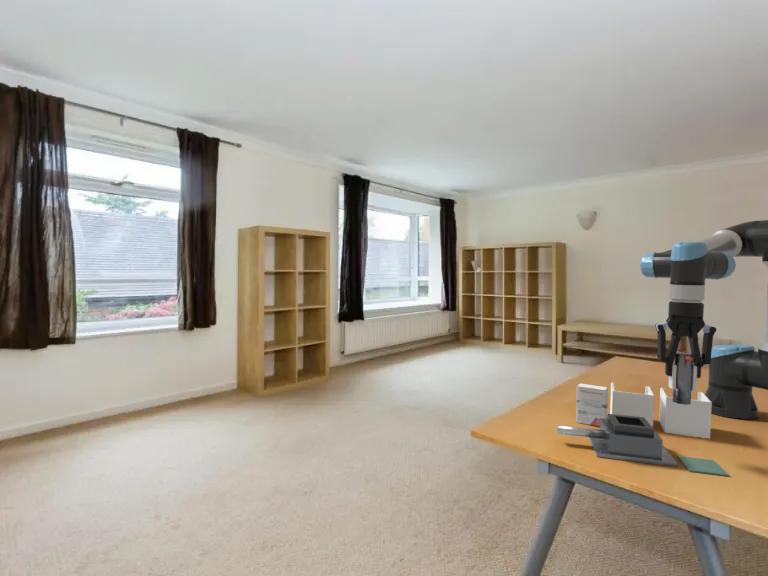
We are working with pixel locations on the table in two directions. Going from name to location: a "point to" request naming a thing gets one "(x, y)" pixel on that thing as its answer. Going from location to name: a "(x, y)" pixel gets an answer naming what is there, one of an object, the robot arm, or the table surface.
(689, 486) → the table surface
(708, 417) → the brackets
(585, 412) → the ink box
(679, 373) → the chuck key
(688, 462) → the rubber mat
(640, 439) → the block
